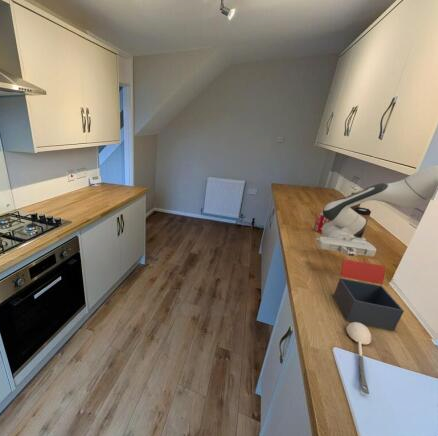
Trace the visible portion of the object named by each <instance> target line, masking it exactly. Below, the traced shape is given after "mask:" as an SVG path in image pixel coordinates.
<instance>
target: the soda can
mask: <svg viewBox="0 0 438 436" xmlns="http://www.w3.org/2000/svg"><path fill="white" fill-rule="evenodd" d="M329 222H331V221H330V220H328V219H326V218H325V217H324V216H323V212H319V213H318V214H317V216H316V218H315V221H314V226H313V230H314V231H315V232H317V233H321V234H322V227H323V225H324V224H326V223H329Z"/></svg>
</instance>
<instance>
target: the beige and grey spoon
mask: <svg viewBox="0 0 438 436" xmlns="http://www.w3.org/2000/svg"><path fill="white" fill-rule="evenodd" d="M346 333H347V334H348V336H349V337H350V339H352V340H353V341H355V342H356V343H358V344H357V345H358V364H359V373H360V388H361V392H363V393H364V394H366V395H370V391H369V386H368V383H367V379H366V374H365V368H364V357H363V346H362V345H369V344H371V342H372V334H371V331H370V329H369V328H368V327H367V325H365V324H361V323H359V322H352V321H351V322H350V323H348V325H347V326H346Z"/></svg>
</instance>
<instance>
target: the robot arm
mask: <svg viewBox="0 0 438 436" xmlns="http://www.w3.org/2000/svg"><path fill="white" fill-rule="evenodd" d="M437 186H438V164H434V165H431V166H428V167H426V168H423V169H421V170H419V171H417V172H414V173H412V174H410V175H409V176H406V177H405V178H402V179H400V180H397V181H394V182H389V183H383V182H381V183H377V184H374V185H371V186H368V187H365V188H364V189H361V190H359V191H357V192H353V193H354V194H352V193H351V194H352V195H351V194H349V195H347V196H344V197H341V198H338V199H336V200H333V201H330V202H328V203H327V204H326V205H324V207H323V208H322V213H323V216H324V217H325V218H326V219H328V220H330V221H329V223H326V224H324V225H323V227H322V233H321V234H322V236H319V237H315V241H316V242H317V246H318V248H319V249H321V250H325V251H332V252H339V253H342V254H344V255H346V256H350V257H356V256H357V255H359V256H364V257H365V256H366V257H374V256H376V253H377V248H376V247H375V246H374V245H373V244H372V243H370V242H368V241H367V239H366V238H365V237H363V236H362V237H359V236H357V235H359V234H360V233H361V232H363V231H364V232H365V230H366V228H367V225H368V222H367V221H366V219H365V218H363V217H362V216H361V215H360V214H358V213H356V212H355V211H354V210H352V209H351V208H350V207H352V206H355V205H358V204H360V203H361V204H362V203H366V202H368V201H378V202H383V203H386V204H389V205H391V206H395V207H402V208H410V207H415V206H418V205H421V204H422V203H426V202H427V201H430V200H431V198H432V196H433V194H434V192H435V190H436V188H437ZM432 199H433V198H432ZM361 204H360V205H361ZM366 224H367V225H366ZM365 227H366V228H365ZM364 229H365V230H364Z"/></svg>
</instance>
